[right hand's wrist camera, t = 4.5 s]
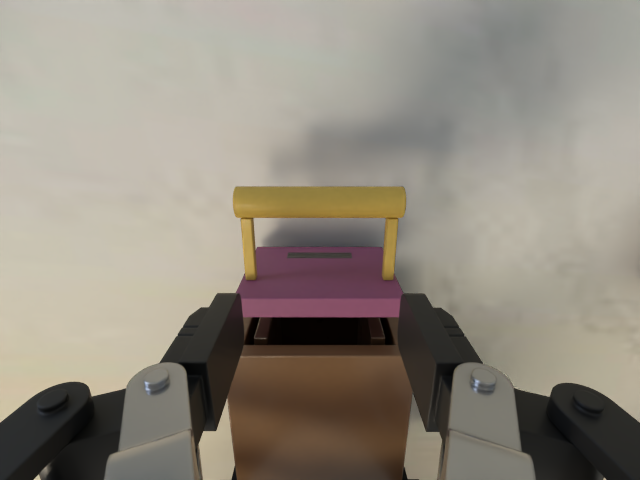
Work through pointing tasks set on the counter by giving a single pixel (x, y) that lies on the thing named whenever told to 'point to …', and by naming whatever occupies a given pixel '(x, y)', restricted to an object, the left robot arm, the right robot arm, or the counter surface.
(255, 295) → the drawer
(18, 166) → the counter surface
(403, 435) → the cabinet
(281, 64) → the counter surface
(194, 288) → the counter surface
